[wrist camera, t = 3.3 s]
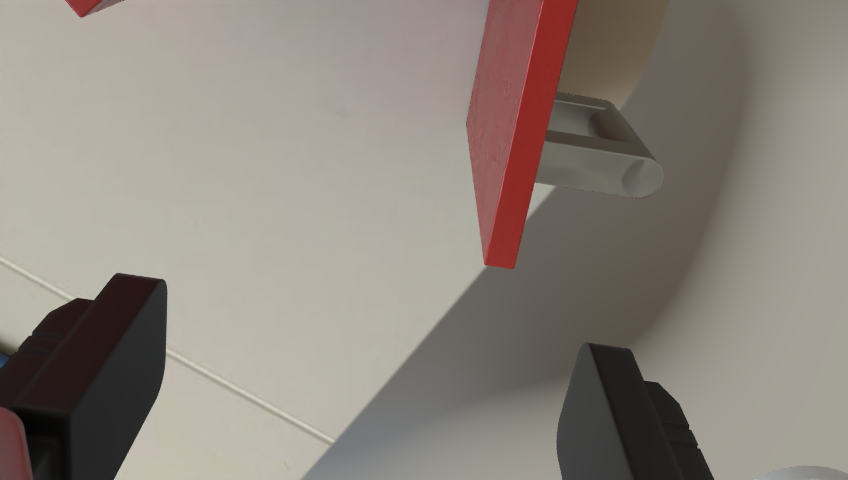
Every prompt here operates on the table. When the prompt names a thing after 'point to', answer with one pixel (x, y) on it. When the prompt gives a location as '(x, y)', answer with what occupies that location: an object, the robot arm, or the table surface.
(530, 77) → the door
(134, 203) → the table surface
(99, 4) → the red cabinet
